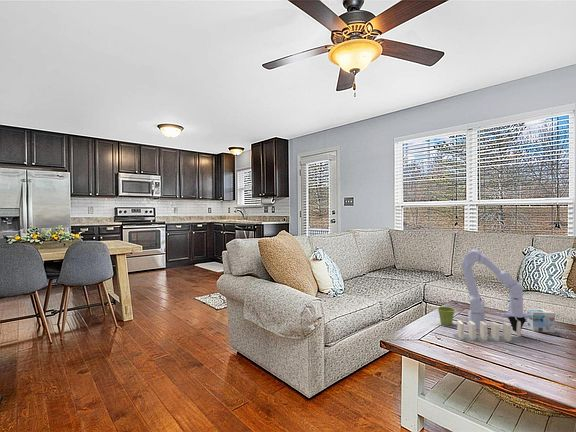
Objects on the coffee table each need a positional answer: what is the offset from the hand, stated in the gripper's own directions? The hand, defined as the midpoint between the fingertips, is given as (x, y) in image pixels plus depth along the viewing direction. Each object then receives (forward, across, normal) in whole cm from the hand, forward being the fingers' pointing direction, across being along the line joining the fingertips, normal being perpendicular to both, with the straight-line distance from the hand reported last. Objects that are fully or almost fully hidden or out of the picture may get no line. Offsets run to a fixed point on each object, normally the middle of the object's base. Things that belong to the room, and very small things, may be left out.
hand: (516, 330), depth 169 cm
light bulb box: (+2, +16, +8) cm, 18 cm away
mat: (+2, -16, -8) cm, 18 cm away
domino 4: (+2, -14, -8) cm, 16 cm away
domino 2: (+2, -24, -8) cm, 26 cm away
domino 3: (+2, -19, -8) cm, 20 cm away
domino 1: (+2, -30, -8) cm, 31 cm away
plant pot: (+2, -31, +14) cm, 34 cm away
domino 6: (+2, 0, 0) cm, 2 cm away
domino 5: (+2, -8, -8) cm, 11 cm away
